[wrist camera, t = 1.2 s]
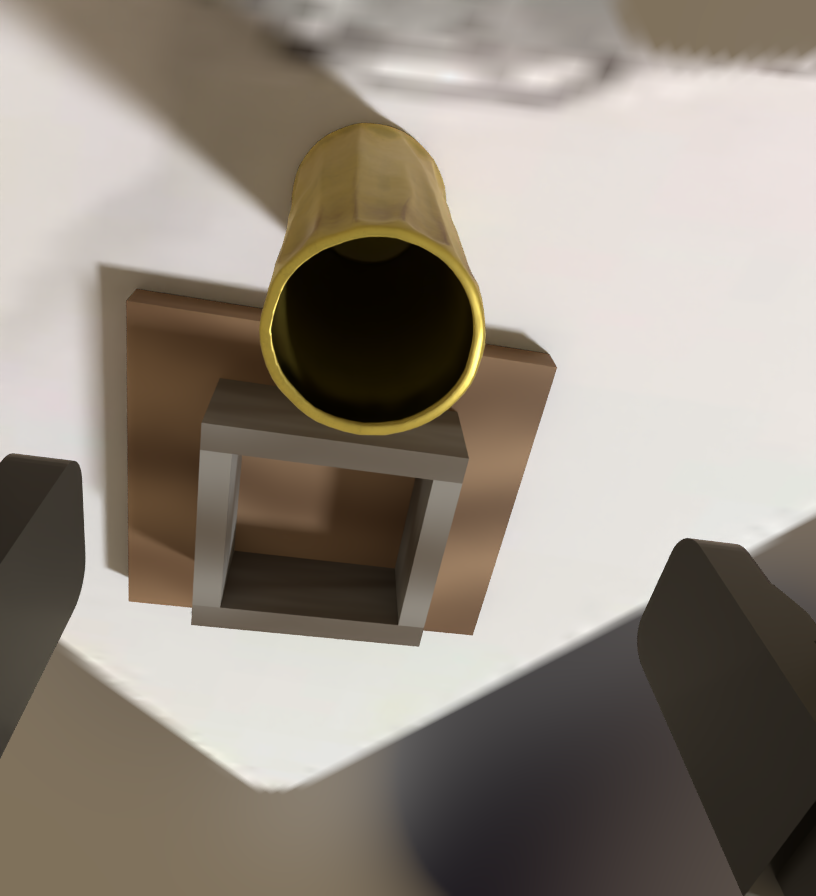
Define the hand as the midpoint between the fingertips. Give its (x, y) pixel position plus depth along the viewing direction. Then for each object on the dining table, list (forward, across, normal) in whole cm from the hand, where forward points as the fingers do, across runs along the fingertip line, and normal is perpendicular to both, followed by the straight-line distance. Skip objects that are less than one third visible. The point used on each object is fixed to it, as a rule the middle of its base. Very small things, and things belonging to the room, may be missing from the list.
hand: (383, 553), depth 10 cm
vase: (+22, 0, 0) cm, 22 cm away
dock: (+22, 0, +13) cm, 26 cm away
